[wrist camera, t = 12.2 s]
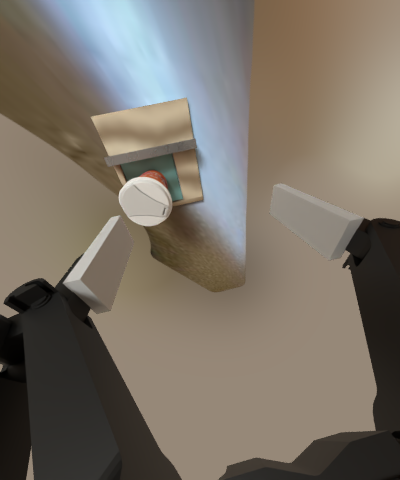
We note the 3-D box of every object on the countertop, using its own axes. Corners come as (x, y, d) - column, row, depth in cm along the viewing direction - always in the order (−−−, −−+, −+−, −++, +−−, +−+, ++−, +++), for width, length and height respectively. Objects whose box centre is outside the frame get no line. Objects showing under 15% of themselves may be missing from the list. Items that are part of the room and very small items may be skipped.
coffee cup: (175, 172, 35) (178, 190, 23) (166, 204, 39) (165, 233, 27) (138, 158, 32) (119, 169, 20) (133, 193, 36) (113, 221, 24)
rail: (109, 156, 31) (103, 157, 28) (193, 138, 31) (195, 138, 29) (113, 164, 31) (108, 166, 29) (194, 147, 32) (196, 148, 30)
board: (92, 117, 27) (90, 116, 27) (186, 98, 28) (186, 97, 27) (137, 213, 39) (136, 214, 38) (202, 198, 40) (203, 199, 39)
